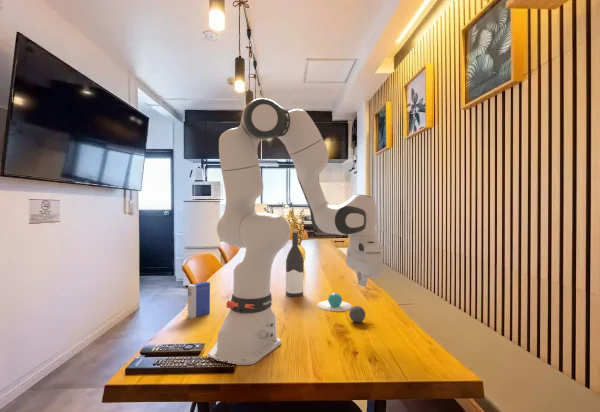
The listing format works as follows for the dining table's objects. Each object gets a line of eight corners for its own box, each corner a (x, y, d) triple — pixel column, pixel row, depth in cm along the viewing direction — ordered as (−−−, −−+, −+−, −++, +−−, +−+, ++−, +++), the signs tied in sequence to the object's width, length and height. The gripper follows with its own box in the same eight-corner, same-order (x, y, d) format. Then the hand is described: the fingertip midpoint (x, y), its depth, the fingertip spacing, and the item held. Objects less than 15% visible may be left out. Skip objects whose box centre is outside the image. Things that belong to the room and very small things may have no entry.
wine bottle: (303, 292, 154) (304, 228, 153) (302, 297, 146) (303, 230, 145) (286, 291, 154) (287, 228, 154) (284, 296, 146) (285, 229, 146)
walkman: (205, 311, 125) (205, 280, 125) (209, 313, 123) (210, 281, 123) (186, 316, 119) (187, 284, 119) (190, 318, 118) (191, 285, 117)
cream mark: (349, 313, 125) (349, 312, 125) (314, 309, 129) (314, 308, 129) (353, 302, 139) (353, 301, 139) (321, 299, 143) (321, 299, 143)
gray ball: (361, 302, 118) (355, 314, 120) (349, 303, 115) (344, 315, 117) (370, 312, 114) (364, 325, 116) (359, 314, 111) (353, 326, 113)
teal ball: (333, 304, 136) (338, 312, 131) (323, 299, 134) (328, 306, 129) (341, 293, 136) (346, 300, 131) (331, 288, 134) (336, 294, 129)
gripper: (342, 240, 118) (341, 278, 118) (367, 247, 98) (366, 293, 98) (358, 240, 119) (357, 278, 119) (386, 247, 100) (385, 292, 100)
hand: (362, 285), depth 109 cm, fingers closed
